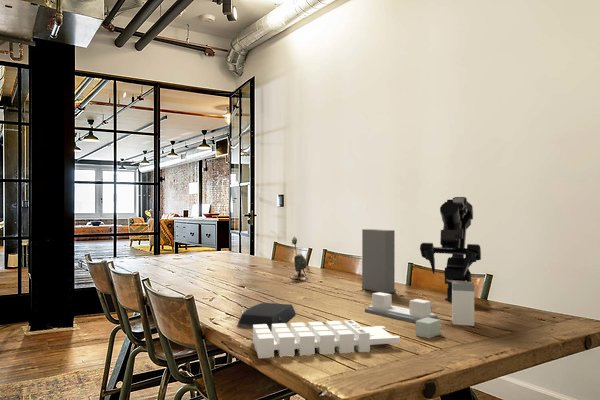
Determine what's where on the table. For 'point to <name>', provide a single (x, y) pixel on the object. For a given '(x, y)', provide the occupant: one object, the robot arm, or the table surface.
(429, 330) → the box
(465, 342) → the table surface
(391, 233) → the tall upright grey panel
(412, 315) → the board
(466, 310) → the block
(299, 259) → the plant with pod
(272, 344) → the organizer
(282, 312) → the dark grey faceted block
